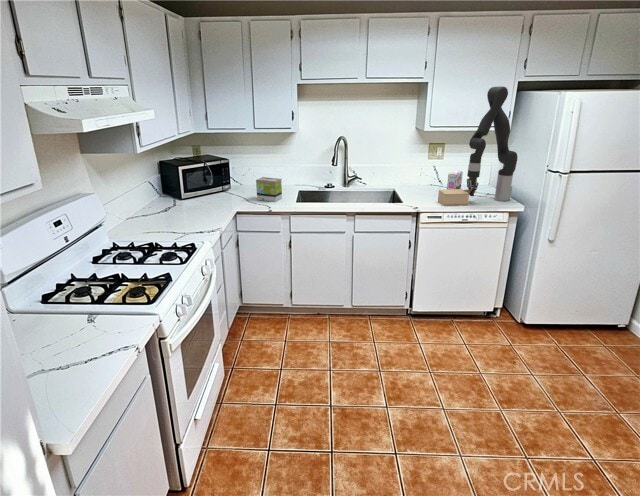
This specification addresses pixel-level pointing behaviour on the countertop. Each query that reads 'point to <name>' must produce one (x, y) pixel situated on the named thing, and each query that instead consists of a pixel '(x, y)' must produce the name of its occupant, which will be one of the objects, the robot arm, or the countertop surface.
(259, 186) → the tea box
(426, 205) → the countertop surface
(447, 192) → the lid
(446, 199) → the base
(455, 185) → the candy box
